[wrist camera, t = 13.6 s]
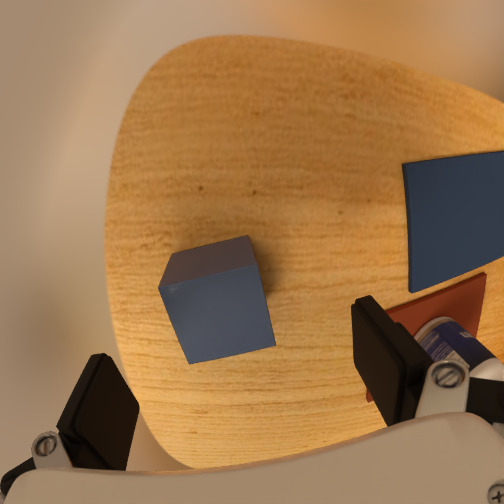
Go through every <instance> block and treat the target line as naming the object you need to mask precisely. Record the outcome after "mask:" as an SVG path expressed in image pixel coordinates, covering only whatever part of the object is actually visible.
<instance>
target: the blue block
mask: <svg viewBox="0 0 504 504" xmlns="http://www.w3.org/2000/svg"><path fill="white" fill-rule="evenodd" d="M158 289H159V292H160V294H161V297H162V300H163V302H164V305H165V308H166V310H167V313H168V315H169V318H170V320H171V323H172V325H173V328H174V330H175V333H176V335H177V338H178V340H179V342H180V345H181V347H182V349H183V352H184V354H185V356H186V359H187V361H188V363H189V364H194V363H199V362H205V361H210V360H215V359H220V358H224V357H229V356H234V355H238V354H243V353H247V352H251V351H256V350H260V349H264V348H268V347H272V346H276V342H275V337H274V333H273V328H272V324H271V320H270V315H269V311H268V307H267V302H266V298H265V294H264V289H263V285H262V280H261V276H260V272H259V267H258V263H257V260H256V257H255V254H254V251H253V248H252V245H251V242H250V239H249V236H248V235H246V236H242V237H238V238H234V239H230V240H225V241H221V242H217V243H213V244H209V245H205V246H201V247H197V248H193V249H189V250H185V251H181V252H177V253H173V254H172V255H171V257H170V259H169V262H168V264H167V267H166V269H165V272H164V274H163V276H162V279H161V281H160V284H159V286H158Z"/></svg>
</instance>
